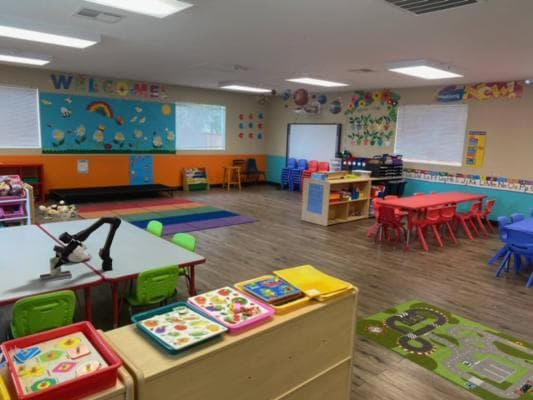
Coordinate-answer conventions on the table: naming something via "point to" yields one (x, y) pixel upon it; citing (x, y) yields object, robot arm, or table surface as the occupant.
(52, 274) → the grey green block
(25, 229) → the table surface
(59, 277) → the door track
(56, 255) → the robot arm
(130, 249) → the table surface
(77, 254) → the animal model
